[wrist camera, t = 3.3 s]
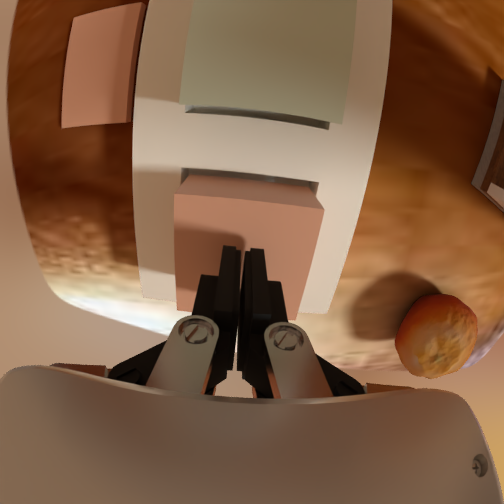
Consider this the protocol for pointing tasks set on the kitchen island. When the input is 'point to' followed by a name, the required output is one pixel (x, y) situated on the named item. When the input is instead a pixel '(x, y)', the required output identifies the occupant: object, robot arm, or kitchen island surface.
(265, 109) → the key sage
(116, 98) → the tile
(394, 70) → the kitchen island surface
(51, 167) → the kitchen island surface
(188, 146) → the keypad board
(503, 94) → the tiered shelf stand
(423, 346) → the fruit
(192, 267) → the key terracotta
